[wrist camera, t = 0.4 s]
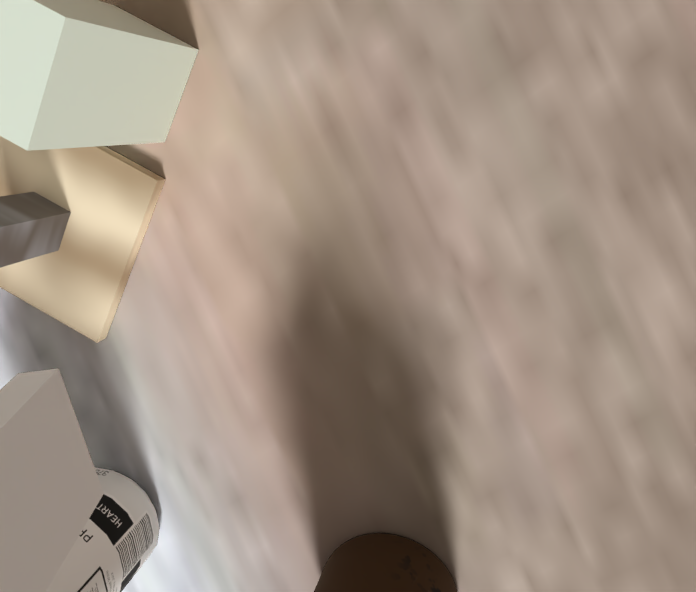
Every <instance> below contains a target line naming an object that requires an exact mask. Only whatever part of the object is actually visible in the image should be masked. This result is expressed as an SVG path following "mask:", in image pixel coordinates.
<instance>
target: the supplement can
mask: <svg viewBox="0 0 696 592" xmlns="http://www.w3.org/2000/svg"><path fill="white" fill-rule="evenodd" d="M95 470H96V473H97V475H98V478H99V481H100V484H101V487H102V489H103V492H104V494H103V496H102V498H101V499H100V501H99V503H98V504H97V506H96V508H95V509H94V511H93V513H92V514H91V516H90V518H89V520H88V521H87V523H86V525H85V526H84V528H83V530H82V531H81V533H80V535H79V536H78V538H77V540H76V542H75V543H74V545H73V547H72V548H71V550H70V552H69V553H68V555H67V557H66V558H65V560H64V562H63V563H62V565H61V567H60V569H59V570H58V572H57V574H56V575H55V577H54V579H53V580H52V582H51V584H50V585H49V587H48V589H47V591H46V592H121V591H122V590H123V589H124V588H125V586H126V585H127V584H128V583H129V581H130V580H131V579H132V578H133V576H134V575H135V574H136V573H137V571H138V570H139V569H140V568H141V566H142V565H143V564H144V562H145V561H146V560H147V559H148V557H149V556H150V555H151V553H152V551H153V550H154V548H155V547H156V545H157V543H158V536H159V529H160V527H159V523H158V519H157V514H156V510H155V508H154V506H153V504H152V502H151V501H150V499H149V497H148V495H147V494H146V492H145V491H144V490H143V489H142V488H141V487H140V486H139V485H138V484H137V483H136V482H134V481H133V480H132V479H130V478H128V477H126V476H124V475H122V474H120V473H118V472H115V471H113V470H108V469H102V468H96V467H95Z"/></svg>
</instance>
